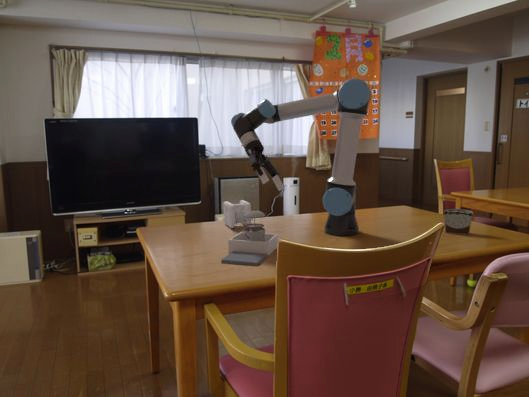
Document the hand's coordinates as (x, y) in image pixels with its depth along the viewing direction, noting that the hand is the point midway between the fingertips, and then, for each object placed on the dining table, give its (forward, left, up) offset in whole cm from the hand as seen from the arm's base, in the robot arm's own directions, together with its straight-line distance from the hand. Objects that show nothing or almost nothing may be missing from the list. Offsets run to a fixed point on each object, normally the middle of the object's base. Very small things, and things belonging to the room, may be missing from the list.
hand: (274, 185), depth 170 cm
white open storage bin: (+4, +13, -23) cm, 27 cm away
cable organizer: (+26, -26, -23) cm, 43 cm away
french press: (+4, +13, -23) cm, 27 cm away
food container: (-73, -39, -23) cm, 86 cm away
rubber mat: (+3, +26, -23) cm, 35 cm away
